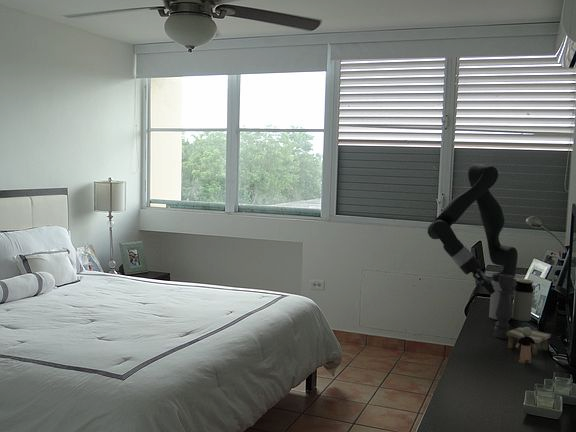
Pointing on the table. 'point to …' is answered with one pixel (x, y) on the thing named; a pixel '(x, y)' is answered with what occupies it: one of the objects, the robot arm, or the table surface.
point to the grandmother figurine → (526, 345)
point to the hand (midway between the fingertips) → (492, 290)
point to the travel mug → (522, 300)
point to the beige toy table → (535, 336)
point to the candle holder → (503, 306)
